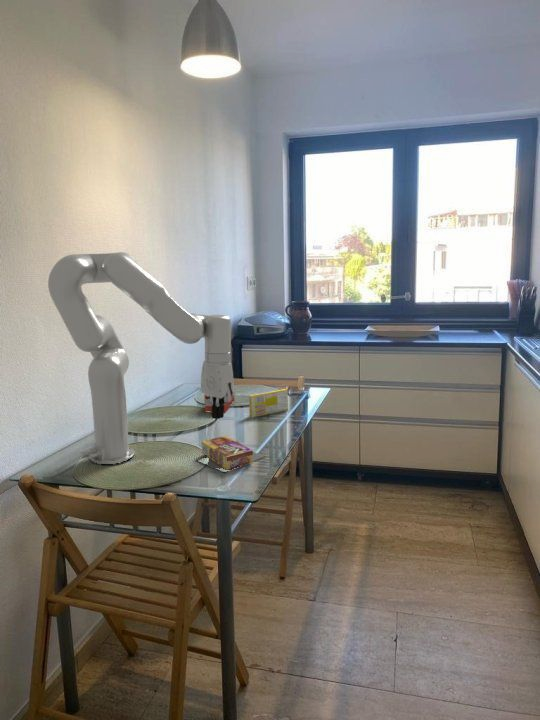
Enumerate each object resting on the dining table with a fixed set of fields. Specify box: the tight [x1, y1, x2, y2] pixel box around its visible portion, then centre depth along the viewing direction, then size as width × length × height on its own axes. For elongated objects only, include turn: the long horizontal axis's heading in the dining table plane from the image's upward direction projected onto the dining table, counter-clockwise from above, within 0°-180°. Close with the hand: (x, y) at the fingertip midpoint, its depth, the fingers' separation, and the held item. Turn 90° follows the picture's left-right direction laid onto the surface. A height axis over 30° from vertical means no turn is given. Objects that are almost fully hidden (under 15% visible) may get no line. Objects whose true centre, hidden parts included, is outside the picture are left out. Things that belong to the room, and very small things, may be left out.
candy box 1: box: [201, 435, 254, 470], centre depth 160 cm, size 9×4×15 cm
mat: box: [207, 451, 266, 471], centre depth 161 cm, size 16×12×1 cm
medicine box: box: [203, 389, 235, 414], centre depth 211 cm, size 15×8×8 cm, turn 169°
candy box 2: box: [248, 388, 289, 418], centre depth 203 cm, size 16×2×8 cm, turn 122°
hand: (217, 417), depth 163 cm, fingers closed
